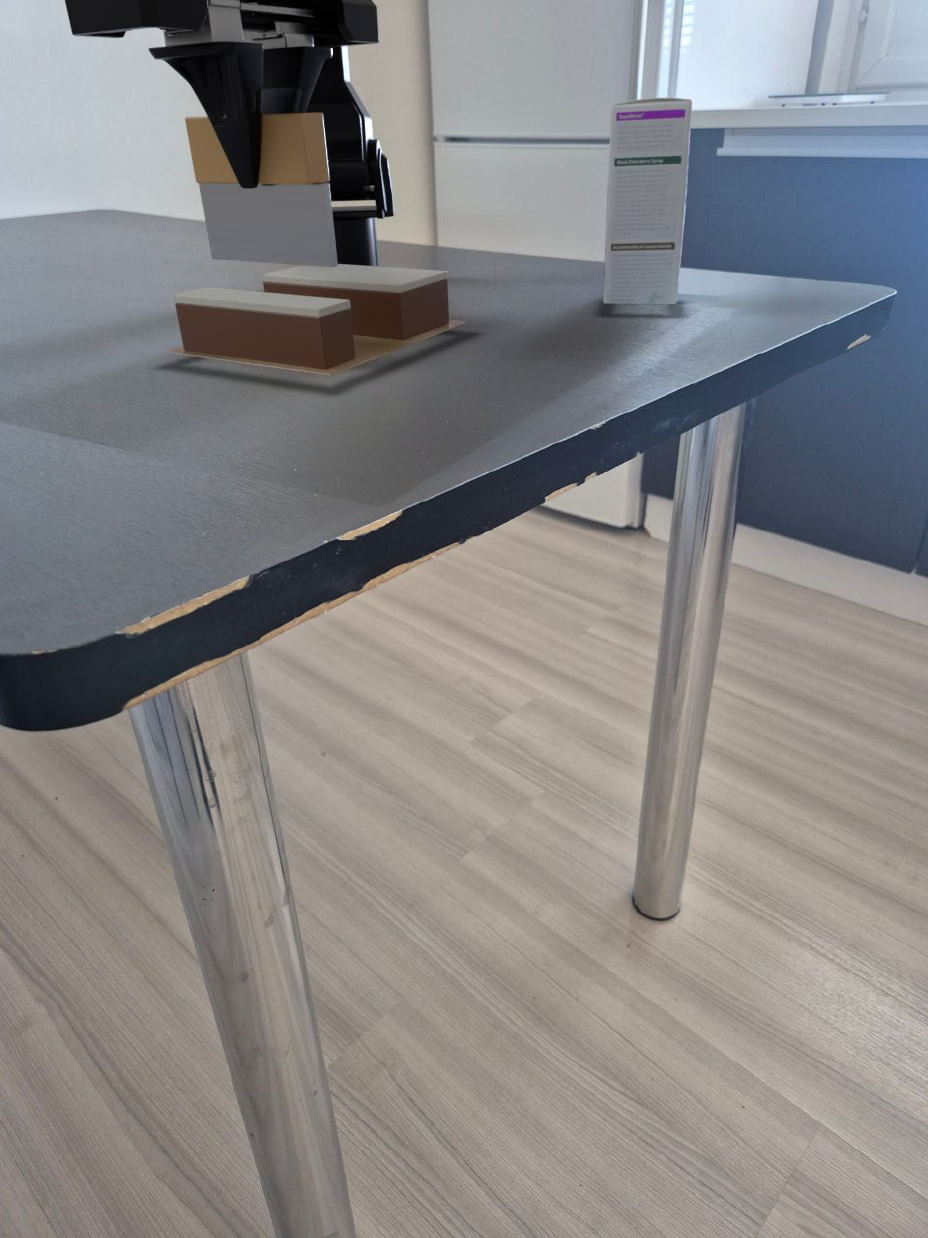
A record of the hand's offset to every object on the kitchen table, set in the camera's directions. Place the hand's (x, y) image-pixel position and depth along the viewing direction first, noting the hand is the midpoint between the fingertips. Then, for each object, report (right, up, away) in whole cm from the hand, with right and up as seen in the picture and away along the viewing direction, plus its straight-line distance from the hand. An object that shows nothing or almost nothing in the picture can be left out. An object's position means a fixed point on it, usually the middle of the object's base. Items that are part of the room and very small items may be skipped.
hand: (262, 186), depth 51 cm
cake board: (+2, -7, +8) cm, 11 cm away
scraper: (0, -4, +2) cm, 4 cm away
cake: (+4, -5, +11) cm, 12 cm away
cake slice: (-1, -9, +3) cm, 10 cm away
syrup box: (+26, -1, +17) cm, 31 cm away
